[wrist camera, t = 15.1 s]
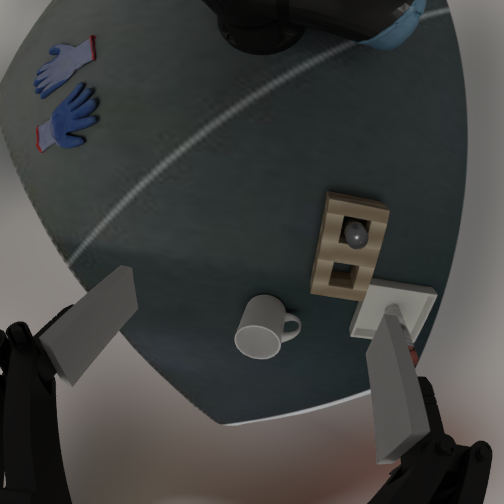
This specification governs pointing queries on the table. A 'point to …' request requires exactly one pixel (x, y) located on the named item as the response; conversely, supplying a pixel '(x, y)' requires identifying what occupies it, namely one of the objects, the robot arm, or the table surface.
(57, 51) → the pair of gloves
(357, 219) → the short pin
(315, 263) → the block
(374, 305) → the tray
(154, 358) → the table surface
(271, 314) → the mug
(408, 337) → the glass vial with cap
